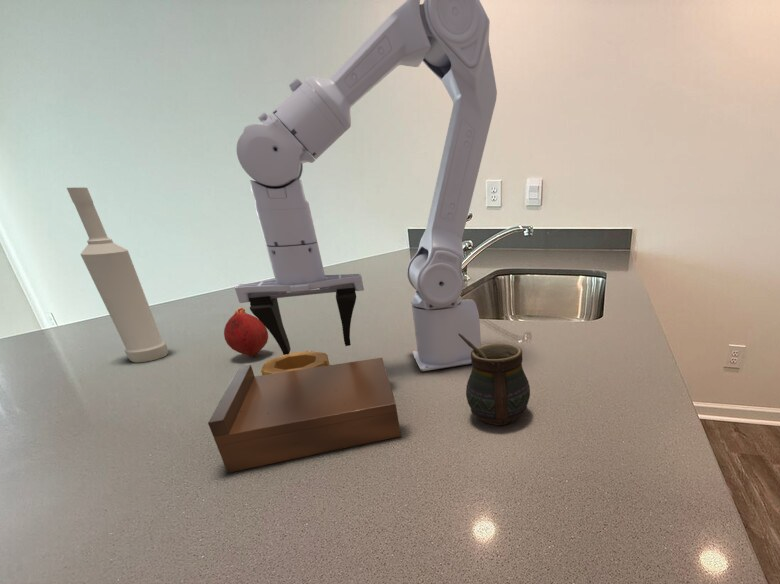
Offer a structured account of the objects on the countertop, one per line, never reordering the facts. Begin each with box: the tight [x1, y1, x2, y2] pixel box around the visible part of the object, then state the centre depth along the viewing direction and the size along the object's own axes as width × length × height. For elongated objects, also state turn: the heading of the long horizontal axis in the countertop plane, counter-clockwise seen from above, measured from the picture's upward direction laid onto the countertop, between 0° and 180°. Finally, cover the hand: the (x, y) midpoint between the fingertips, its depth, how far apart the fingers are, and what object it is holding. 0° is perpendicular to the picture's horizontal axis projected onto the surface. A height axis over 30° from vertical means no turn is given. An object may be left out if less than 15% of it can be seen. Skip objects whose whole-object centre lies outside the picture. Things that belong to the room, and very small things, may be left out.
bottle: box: [66, 187, 169, 363], centre depth 61 cm, size 5×5×25 cm
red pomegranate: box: [223, 306, 269, 358], centre depth 64 cm, size 6×6×8 cm
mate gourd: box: [458, 333, 531, 427], centre depth 45 cm, size 7×8×10 cm
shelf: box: [207, 357, 402, 474], centre depth 45 cm, size 16×14×6 cm
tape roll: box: [260, 350, 331, 375], centre depth 56 cm, size 8×8×3 cm
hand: (318, 347), depth 56 cm, fingers open, 7 cm apart
